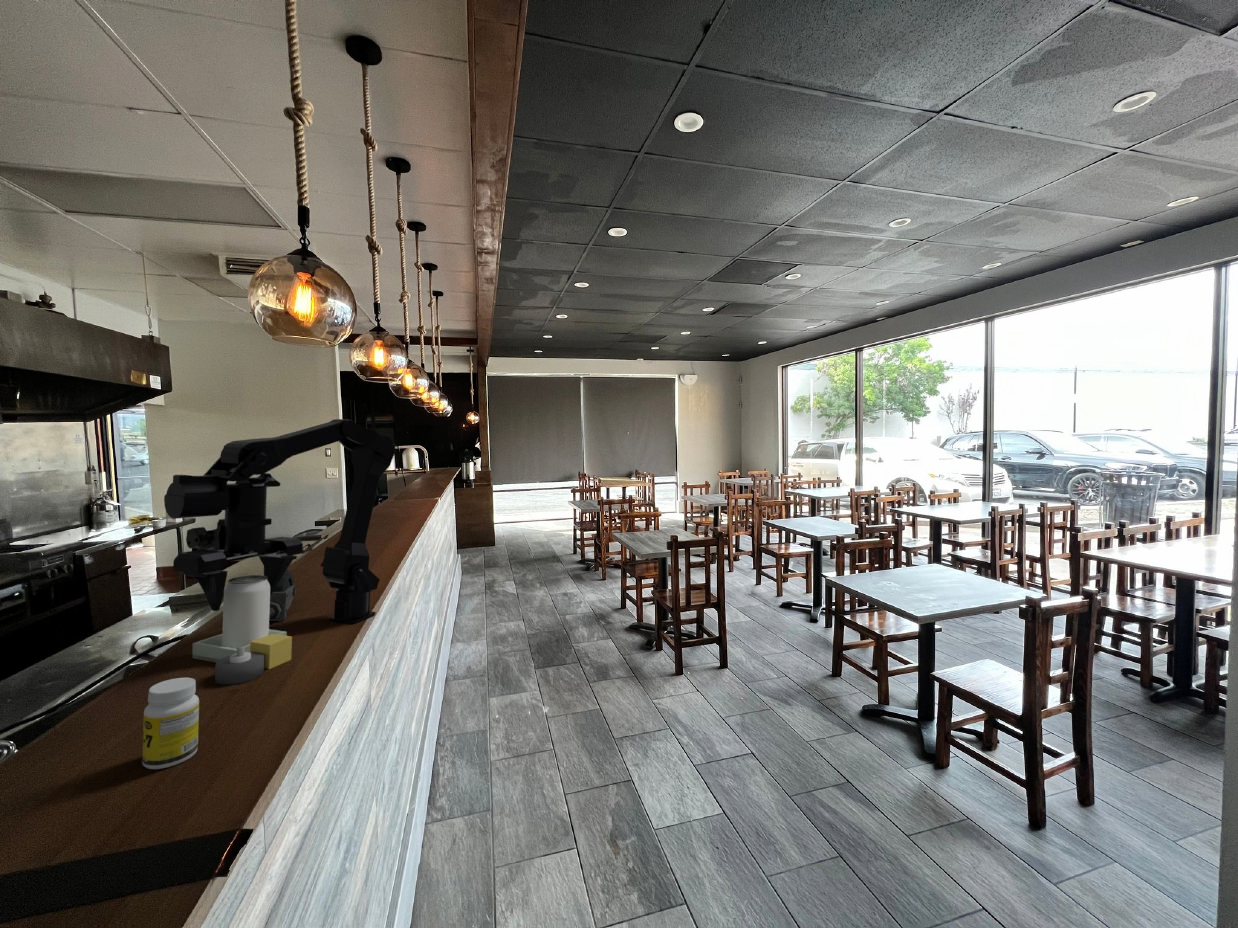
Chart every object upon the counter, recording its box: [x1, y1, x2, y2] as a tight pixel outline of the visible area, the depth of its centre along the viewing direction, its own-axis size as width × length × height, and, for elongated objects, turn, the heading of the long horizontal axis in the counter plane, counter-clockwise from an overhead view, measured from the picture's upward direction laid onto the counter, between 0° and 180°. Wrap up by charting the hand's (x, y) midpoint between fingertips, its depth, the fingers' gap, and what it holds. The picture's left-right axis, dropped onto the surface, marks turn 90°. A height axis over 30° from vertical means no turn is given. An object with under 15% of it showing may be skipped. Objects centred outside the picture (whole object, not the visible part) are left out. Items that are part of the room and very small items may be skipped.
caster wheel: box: [269, 569, 297, 622], centre depth 104 cm, size 6×10×15 cm
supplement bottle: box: [141, 677, 200, 770], centre depth 56 cm, size 5×5×8 cm
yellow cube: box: [250, 634, 293, 670], centre depth 82 cm, size 4×4×4 cm
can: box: [221, 574, 270, 649], centre depth 86 cm, size 6×6×12 cm
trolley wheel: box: [214, 646, 265, 685], centre depth 77 cm, size 6×6×4 cm
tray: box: [192, 628, 288, 663], centre depth 86 cm, size 9×9×2 cm
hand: (242, 602), depth 86 cm, fingers open, 9 cm apart
